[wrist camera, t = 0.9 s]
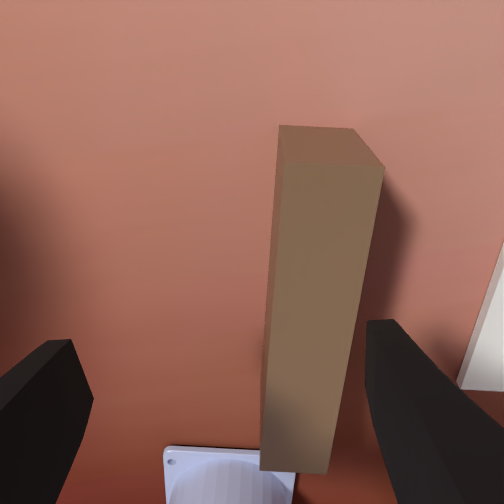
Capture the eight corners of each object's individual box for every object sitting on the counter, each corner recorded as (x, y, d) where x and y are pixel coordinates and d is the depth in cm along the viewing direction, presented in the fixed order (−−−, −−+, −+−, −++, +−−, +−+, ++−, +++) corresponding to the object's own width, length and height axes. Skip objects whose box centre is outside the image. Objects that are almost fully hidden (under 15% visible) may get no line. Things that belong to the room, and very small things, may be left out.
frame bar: (314, 384, 25) (326, 474, 20) (260, 381, 25) (259, 470, 20) (352, 127, 18) (384, 167, 13) (278, 124, 18) (284, 161, 13)
